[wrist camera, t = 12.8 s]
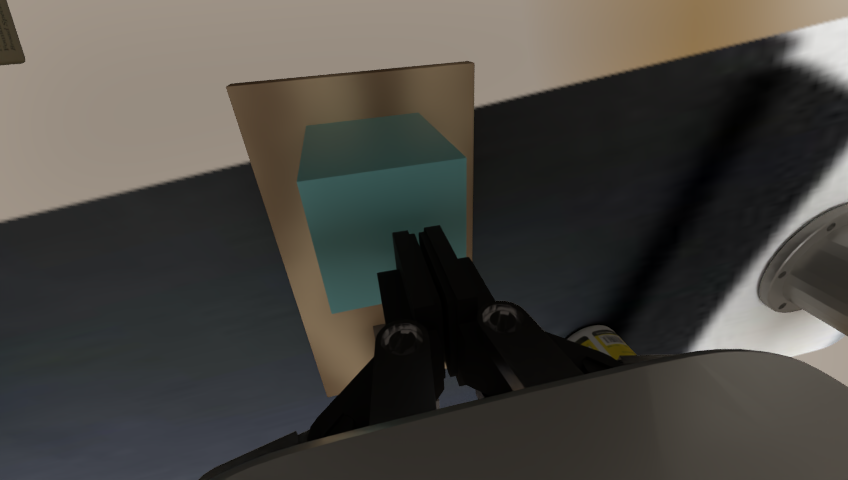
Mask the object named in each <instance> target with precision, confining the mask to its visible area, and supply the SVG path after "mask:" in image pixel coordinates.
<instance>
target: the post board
mask: <svg viewBox="0 0 848 480" xmlns="http://www.w3.org/2000/svg"><path fill="white" fill-rule="evenodd" d="M226 89H227V92H228V95H229V98H230V101H231V104H232V107H233V110H234V113H235V116H236V119H237V122H238V125H239V128H240V131H241V134H242V137H243V140H244V144H245V146H246V150H247V153H248V156H249V159H250V162H251V165H252V168H253V171H254V174H255V177H256V180H257V183H258V186H259V189H260V192H261V195H262V198H263V202H264V205H265V208H266V211H267V214H268V217H269V220H270V223H271V226H272V229H273V232H274V235H275V238H276V241H277V244H278V247H279V250H280V253H281V256H282V260H283V263H284V266H285V269H286V272H287V275H288V278H289V281H290V284H291V287H292V290H293V293H294V296H295V299H296V302H297V305H298V308H299V311H300V314H301V318H302V321H303V324H304V327H305V330H306V333H307V336H308V339H309V342H310V345H311V348H312V351H313V354H314V357H315V360H316V363H317V366H318V369H319V372H320V375H321V379H322V382H323V385H324V388H325V391H326V394H327V397H331V396H335V395H339V394H340V393H341V392H342V390H343V389H344V388H345V387H346V386H347V385H348V384H349V383H350V382H351V381H352V380H353V379H354V377H355V376H356V375H357V374H358V373H359V372H360V371H361V370H362V369H363V368H364V367H365V366H366V364H367V363H368V362H369V361H370V360H371V359H372V358H373V357H374V350H375V340H376V336H377V334H378V332H379V331H380V330H381V329H382V328H383V327H384V326H385V319H384V314H383V308H382V304H379V305H374V306H369V307H364V308H359V309H354V310H349V311H344V312H340V313H335V314H332V313H331V310H330V306H329V302H328V298H327V295H326V291H325V287H324V283H323V280H322V276H321V272H320V268H319V265H318V261H317V257H316V253H315V250H314V246H313V242H312V238H311V234H310V231H309V227H308V223H307V219H306V216H305V212H304V208H303V204H302V201H301V197H300V193H299V189H298V186H297V176H298V171H299V165H300V159H301V153H302V147H303V141H304V135H305V129H306V126H308V125H317V124H325V123H334V122H342V121H351V120H359V119H368V118H376V117H385V116H393V115H402V114H410V113H419V114H420V115H421V116H423V117H424V118H425V119H426V120H427V121H428V122H429V123H430V124H431V125H432V126H433V127H434V128H435V129H436V130H437V131H439V132H440V133H441V134H442V135H443V136H444V137H445V138H446V139H447V140H448V141H449V142H450V143H451V144H452V145H453V146H455V147H456V148H457V149H458V150H459V151H460V152H461V153H462V154H463V155H464V156H465V157H466V158H467V195H466V257H469V258H470V259H471V261H472V229H473V144H474V63H473V62H469V61H465V62H454V63H445V64H433V65H423V66H412V67H402V68H392V69H381V70H371V71H360V72H351V73H339V74H329V75H318V76H308V77H297V78H287V79H276V80H267V81H255V82H245V83H235V84H230V85H228V86H227V87H226ZM446 368H447V367H446V364H445V369H446ZM436 409H439V399H437V401H436Z"/></svg>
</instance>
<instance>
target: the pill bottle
mask: <svg viewBox="0 0 848 480" xmlns="http://www.w3.org/2000/svg"><path fill="white" fill-rule="evenodd" d="M567 340H570V341H573V342H575V343H578V344H581V345H584V346H586V347H589V348H592V349H595V350H597V351H600V352H603V353H605V354H607V355H609V356H611V357H613V358H614V359H615V360H618V358H619V355H636V354H635V353H634V352H633V351H632V350H631V349H630V348H629V346H628V345H627V344H626V343H625V342H624V341H623V340H622V339H621V338H620V337H619V336H618V335H617V334H616V333H615V332H614V331H613V330H612V329H610V328H609V327H607V326H603V325H594V326H589V327H586V328H583V329H581V330H579V331H577V332H575V333H574V334H572V335H571V336H570V337H569V338H568V339H567Z"/></svg>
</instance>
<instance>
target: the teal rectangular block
mask: <svg viewBox="0 0 848 480" xmlns="http://www.w3.org/2000/svg"><path fill="white" fill-rule="evenodd" d="M297 186H298V189H299V193H300V197H301V201H302V204H303V208H304V212H305V216H306V219H307V223H308V227H309V231H310V234H311V238H312V242H313V246H314V250H315V253H316V257H317V261H318V265H319V268H320V272H321V276H322V280H323V283H324V287H325V291H326V295H327V298H328V302H329V306H330V310H331V313H332V314H335V313H340V312H344V311H349V310H354V309H359V308H364V307H369V306H374V305H379V304H382V302H381V296H380V290H379V283H378V277H377V273H379V272H384V271H390V270H396V261H395V254H394V246H393V238H392V233H393V232H399V231H405V230H408V232H409V234H412V233H415V236H416V238H417V241H418V243H419V232H424V227H430V226H437V225H440V226H441V228H442V230H443V232H444V234H445V236H446V237H447V239H448V241H449V243H450V245H451V247H452V249H453V251H454V252H455V254H456V256H457V258H464V257H466V195H467V158H466V157H465V156H464V155H463V154H462V153H461V152H460V151H459V150H458V149H457V148H456V147H455V146H453V145H452V144H451V143H450V142H449V141H448V140H447V139H446V138H445V137H444V136H443V135H442V134H441V133H440V132H439V131H437V130H436V129H435V128H434V127H433V126H432V125H431V124H430V123H429V122H428V121H427V120H426V119H425V118H424V117H423V116H421V115H420V114H419V113H410V114H402V115H393V116H385V117H376V118H368V119H359V120H351V121H342V122H334V123H325V124H317V125H308V126H306V129H305V135H304V141H303V147H302V153H301V159H300V165H299V171H298V176H297Z"/></svg>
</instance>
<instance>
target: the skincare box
mask: <svg viewBox="0 0 848 480" xmlns="http://www.w3.org/2000/svg"><path fill="white" fill-rule="evenodd" d="M24 62H25V56H24V54H23V50H22V47H21V44H20V41H19V38H18V35H17V32H16V29H15V25H14V23H13V19H12V16H11V13H10V10H9V7H8V4H7V1H6V0H0V65H9V64H21V63H24Z"/></svg>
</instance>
